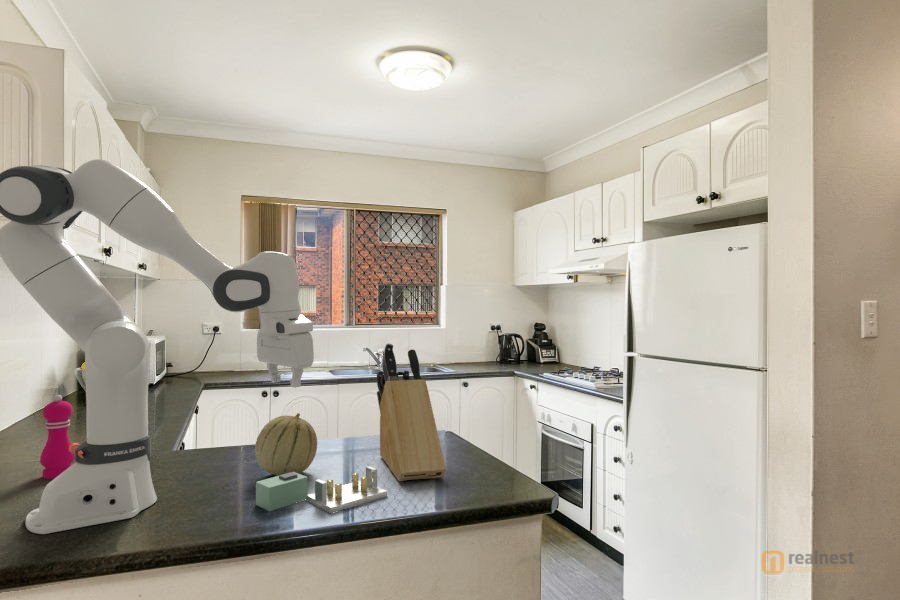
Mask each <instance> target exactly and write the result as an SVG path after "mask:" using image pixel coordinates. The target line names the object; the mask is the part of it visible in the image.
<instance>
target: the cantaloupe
mask: <svg viewBox="0 0 900 600" xmlns="http://www.w3.org/2000/svg"><path fill="white" fill-rule="evenodd" d="M300 415H301V414H300V412H297V414H296V415H280V416H276V417H274V418H273V419H270V421H268V422H267V423H266V424H265V425H264V426H263V427H262V429H261V430H260V432H259V434H258V436H257V437H256V441H255V446H254V447H255V448H254V453H255V458H256V462H257V463H258V465H259V466H260V467H261V468H262V470H264V471H265V472H267V473H269V474H272V475H274V476H275V477H276V476H279V475H282V474H286V473H290V472H296V473H298V474H301V473H303V472H305V471H306V470H307V469H308V468H309V467H310V466H311V465H312V463H313V461H314V459H315V457H316V454H317V450H318V438H317V437H318V436H317V434H316V430H315V429H314V427H313V426H312V424H311V423H310V422H308V421H307V420H305V419H303V418H301V417H300Z"/></svg>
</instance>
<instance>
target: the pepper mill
mask: <svg viewBox="0 0 900 600" xmlns="http://www.w3.org/2000/svg"><path fill="white" fill-rule="evenodd" d="M72 414H73V406H72V404H71V403H69V402H68V401H66V400H63V396H62V395H61V394H56V395H54V396H53V401H51V402H49V403H47V404H45V406H44V408H43V410H42V416H43V418H44V419H45V420H46V422H45V429H47V432H48V433H47V434H48V435H47V440H46V442H45V445H44V447H43V449H42V451H41V454H40V456H39V458H40V459H39V462H40V464H41V465H42V466H43V467H44V469H43V470H42V478H43V479H45V480H53V479H55V478H56V477H57V476H59V475H60V474H61V473H62V472H64V471H65V470H66V469H67V468H69V467H70V466H71V465H72V464H73V462H75V455H74V454H72V453H71V452H70V451H69V448H70V447H69V446H72V445H71V444H72V442H71V441H70V438H69V431H68V430H69V426H71V419H69V418H70V417H71V416H72Z"/></svg>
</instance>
